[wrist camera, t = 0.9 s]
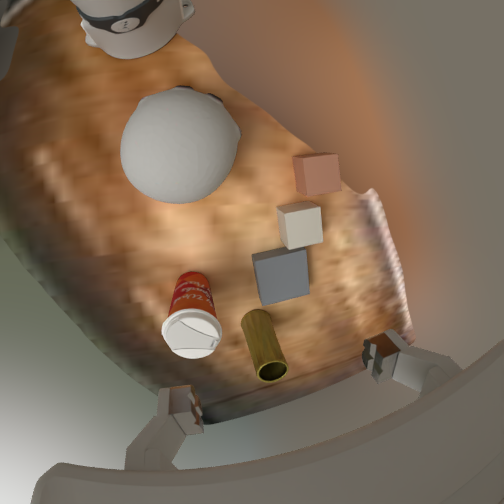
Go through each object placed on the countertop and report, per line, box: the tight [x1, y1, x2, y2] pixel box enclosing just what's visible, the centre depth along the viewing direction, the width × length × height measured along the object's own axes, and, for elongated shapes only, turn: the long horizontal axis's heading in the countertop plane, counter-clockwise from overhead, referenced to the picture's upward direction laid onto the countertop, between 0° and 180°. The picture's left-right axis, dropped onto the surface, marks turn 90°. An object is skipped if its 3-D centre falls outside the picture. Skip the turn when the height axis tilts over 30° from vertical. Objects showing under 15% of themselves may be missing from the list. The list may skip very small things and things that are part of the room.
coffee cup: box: [162, 272, 222, 358], centre depth 42 cm, size 8×8×15 cm
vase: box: [241, 310, 289, 382], centre depth 47 cm, size 6×6×14 cm
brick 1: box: [292, 153, 342, 197], centre depth 42 cm, size 6×6×5 cm
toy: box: [120, 85, 241, 204], centre depth 33 cm, size 15×15×15 cm
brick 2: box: [276, 201, 323, 250], centre depth 45 cm, size 6×6×5 cm
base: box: [252, 247, 310, 306], centre depth 49 cm, size 9×9×3 cm
